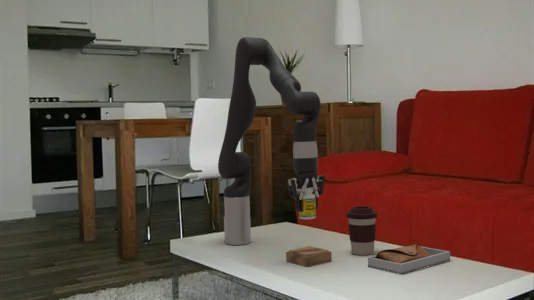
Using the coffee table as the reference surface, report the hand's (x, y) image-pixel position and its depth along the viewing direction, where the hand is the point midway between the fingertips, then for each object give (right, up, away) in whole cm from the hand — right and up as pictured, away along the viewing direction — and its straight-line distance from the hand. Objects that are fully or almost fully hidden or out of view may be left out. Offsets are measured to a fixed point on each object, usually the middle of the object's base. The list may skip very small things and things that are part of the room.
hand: (307, 210), depth 187 cm
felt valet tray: (+30, -15, -7) cm, 35 cm away
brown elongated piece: (+30, -15, -6) cm, 34 cm away
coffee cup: (+19, -15, +10) cm, 26 cm away
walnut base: (+1, -16, +1) cm, 16 cm away
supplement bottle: (0, -3, 0) cm, 3 cm away
